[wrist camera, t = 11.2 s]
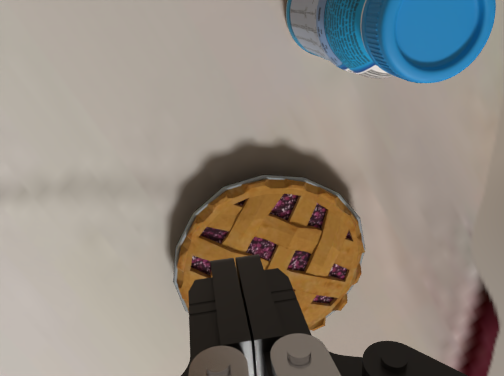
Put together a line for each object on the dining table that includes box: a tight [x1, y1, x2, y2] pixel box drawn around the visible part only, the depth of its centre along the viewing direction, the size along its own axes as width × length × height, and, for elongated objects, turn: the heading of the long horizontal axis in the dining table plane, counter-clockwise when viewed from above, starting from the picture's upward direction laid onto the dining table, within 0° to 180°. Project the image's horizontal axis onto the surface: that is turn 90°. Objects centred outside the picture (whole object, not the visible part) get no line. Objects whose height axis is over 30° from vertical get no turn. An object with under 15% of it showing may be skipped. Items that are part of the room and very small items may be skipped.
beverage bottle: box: [286, 0, 496, 83], centre depth 32 cm, size 8×8×20 cm
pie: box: [173, 175, 365, 331], centre depth 49 cm, size 22×22×5 cm
